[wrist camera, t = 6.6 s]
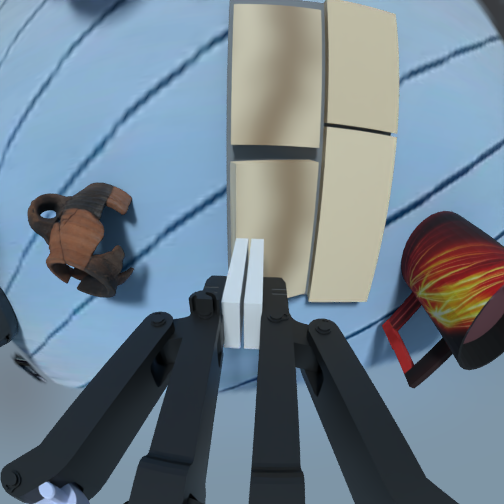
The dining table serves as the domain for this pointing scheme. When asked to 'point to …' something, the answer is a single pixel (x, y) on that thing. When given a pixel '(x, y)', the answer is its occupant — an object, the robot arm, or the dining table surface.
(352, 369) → the robot arm
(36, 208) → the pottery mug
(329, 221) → the floor panel
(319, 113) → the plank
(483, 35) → the dining table surface
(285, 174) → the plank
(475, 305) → the mug
